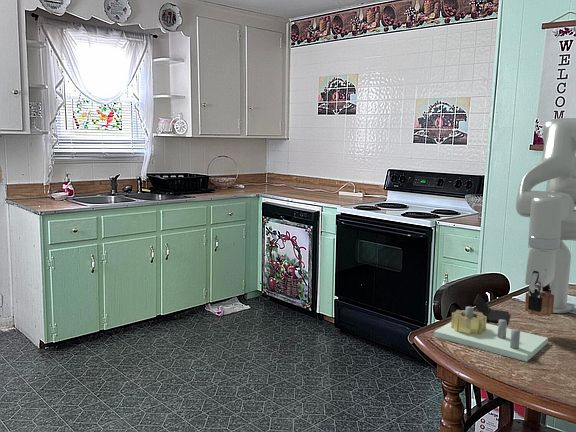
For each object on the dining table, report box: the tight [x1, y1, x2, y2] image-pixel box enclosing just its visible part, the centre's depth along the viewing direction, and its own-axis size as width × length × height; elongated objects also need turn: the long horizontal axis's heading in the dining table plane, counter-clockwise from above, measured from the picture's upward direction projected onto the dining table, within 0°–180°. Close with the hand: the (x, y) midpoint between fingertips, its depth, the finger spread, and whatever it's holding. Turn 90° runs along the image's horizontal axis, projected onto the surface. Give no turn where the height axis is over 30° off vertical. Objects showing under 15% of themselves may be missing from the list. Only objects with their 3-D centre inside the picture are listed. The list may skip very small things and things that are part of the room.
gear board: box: [433, 306, 549, 362], centre depth 142 cm, size 16×24×8 cm, turn 48°
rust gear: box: [524, 290, 554, 317], centre depth 146 cm, size 7×7×5 cm
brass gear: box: [450, 309, 487, 335], centre depth 146 cm, size 9×9×4 cm
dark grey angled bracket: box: [473, 293, 510, 324], centre depth 161 cm, size 12×7×10 cm
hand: (539, 306), depth 146 cm, fingers closed on rust gear, 6 cm apart
